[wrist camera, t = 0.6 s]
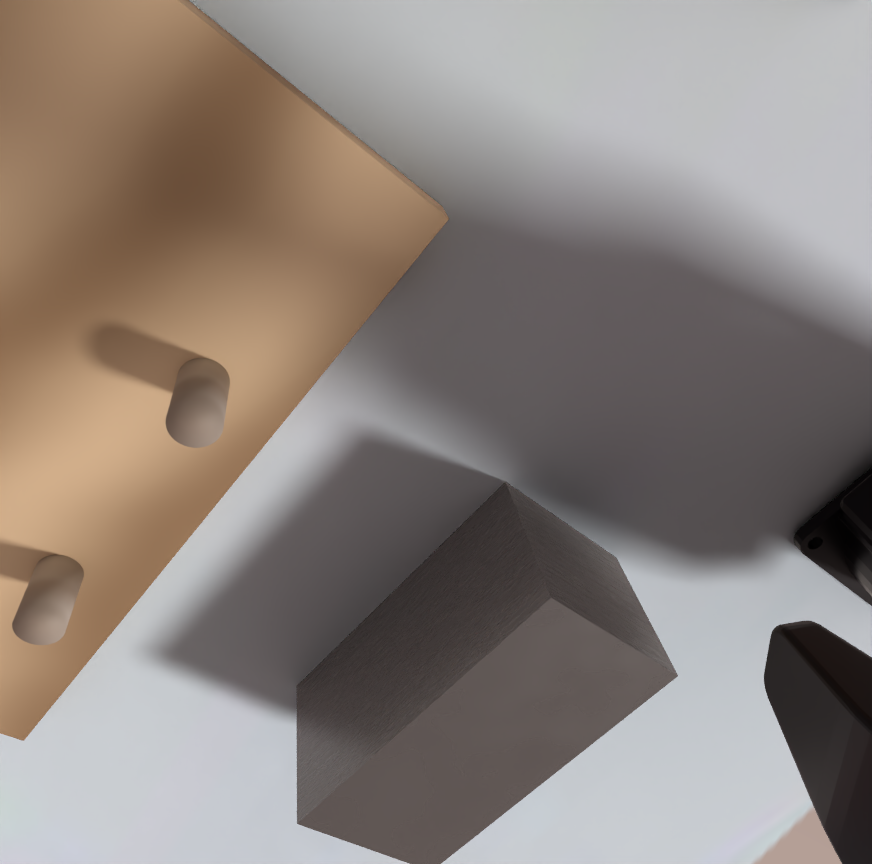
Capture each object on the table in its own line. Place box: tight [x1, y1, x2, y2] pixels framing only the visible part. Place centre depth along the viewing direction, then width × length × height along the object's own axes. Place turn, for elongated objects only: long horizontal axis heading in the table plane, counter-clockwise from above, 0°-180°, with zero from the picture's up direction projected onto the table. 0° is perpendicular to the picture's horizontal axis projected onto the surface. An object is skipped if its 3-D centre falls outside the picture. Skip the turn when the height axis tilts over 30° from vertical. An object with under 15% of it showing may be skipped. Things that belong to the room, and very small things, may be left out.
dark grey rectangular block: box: [297, 482, 678, 864], centre depth 24 cm, size 5×10×5 cm, turn 138°
